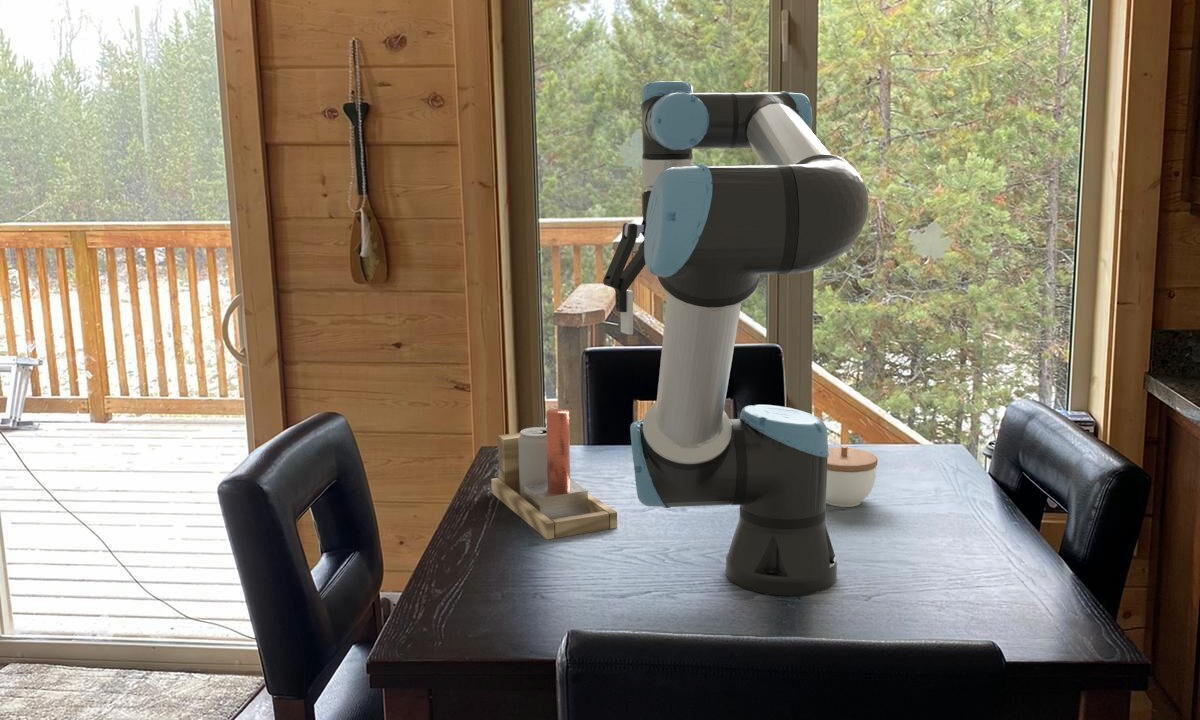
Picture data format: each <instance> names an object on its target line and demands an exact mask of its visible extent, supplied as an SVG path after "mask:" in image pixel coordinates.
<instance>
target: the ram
mask: <svg viewBox="0 0 1200 720" xmlns="http://www.w3.org/2000/svg"><path fill="white" fill-rule="evenodd" d="M545 419H546V421H545V422H546V423H545V424H546V428H547V480H548V482H545V483H538V484H532V485H525V486H524V499H525V500H526V501H527V502H529V503H530V504H531V505H533V506H534V507H535V508H536V509H538V510H539V511H540V512H541V513H543V514H544V515H545V516H546V517H548V518H549V519H550V520H551V521H552V519H558V518H565V517H571V516H577V515H583V514H589V513H588V493H589V492H588V490H587V489H586V488H585V487H583V486H582V485H580V484H579V483H577V482H576V481H574V480H573V479H571V464H570V463H571V458H570V457H571V454H570V453H571V450H570V445H571V444H570V410H568V409H565V408H551V409H548V410H546V411H545Z"/></svg>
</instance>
